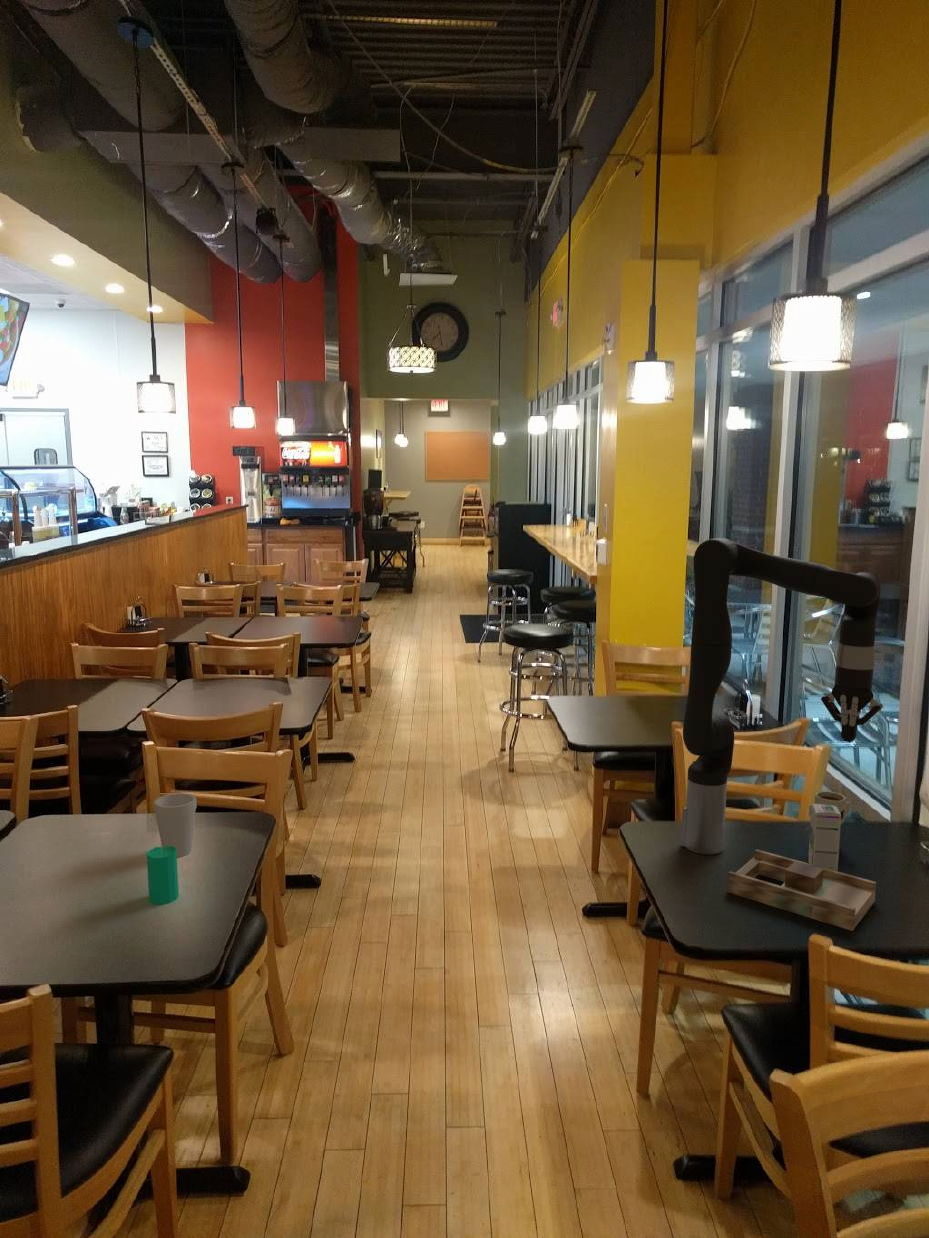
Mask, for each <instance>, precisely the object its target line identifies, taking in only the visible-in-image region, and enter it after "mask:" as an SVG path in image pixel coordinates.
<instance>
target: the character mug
mask: <svg viewBox="0 0 929 1238" xmlns="http://www.w3.org/2000/svg"><path fill="white" fill-rule="evenodd" d="M812 804H829V805H835V806H837V808H838V810H839V812H840V814H841V824H840V826H841V825H842V824H843V823H844V822H845V820H846V815H849V814H850V809H851V803H850V801H847V799H846V795H844V794H842V793H839V792H834V791H830V790H829V791H827V790H821V791H817V792H815V793H814V801H813V803H811V804H809V807H808V816H809V818H811V805H812ZM840 848H841V842H840V843H839V849H840Z"/></svg>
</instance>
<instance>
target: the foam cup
mask: <svg viewBox="0 0 929 1238" xmlns="http://www.w3.org/2000/svg"><path fill="white" fill-rule="evenodd" d="M153 808H154V809H153V810H154V811H153V812H154V814H155V816H156V817H155V818H156V823H157V828H158V832H159V838H160V842H161V843H160V845H161V844H162V847H167V846H173V847H175V848H176V851H177V859H178V858H183V857H185V856H188V855H190V854H191V852H192V848H193V839H194V838H193V837H194V830H195V829H194V827H195V821H196V820H195V818H196V809H197V798H196V796H195V795H194V794H191V793H187V792H186V793H185V792H184V793H183V792H175V793H169V794H165V795H162V796H160V797H158V798H155V800H154V801H153Z"/></svg>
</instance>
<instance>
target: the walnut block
mask: <svg viewBox="0 0 929 1238" xmlns="http://www.w3.org/2000/svg"><path fill="white" fill-rule="evenodd" d="M801 862H802V861H801ZM801 862H797V861H795V862H794V863H793V864H792V865H791V866H790V867H788V868H787V869H786V873H785V886H788V887H791V888H795V889H798V890H801V891H805V892H808V893H812V894H814V893H815V892H816V890H817V889H818V888H819V887H820V886H821V885H822V883H823V870H824V869H823V868H819V867H816V866H812V865H808V864H805V863H806V862H805V863H801Z"/></svg>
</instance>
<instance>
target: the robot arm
mask: <svg viewBox="0 0 929 1238" xmlns="http://www.w3.org/2000/svg"><path fill="white" fill-rule="evenodd" d="M693 575H694V576H693V579H694V607H693V616H692V628H691V630H692V631H691V639H690V640H691V641H690V658H689V659H690V661H689V663H690V664H689V665H690V666H689V680H688V691H687V699H686V704H685V713H684V717H683V725H682V739H683V743H684V746H685V749H687V751H688V752H689V753H690V754H691V755H694V756H698V757H697V758H696V760H694V761H693V762H692V763H691V764H690V765H689V767H688V768H687V780H686V781H687V784H686V801H685V802H686V803H685V806H684V807H682V811H681V812H682V813H681V815H682V817H681V833H680V835H681V836H680V837H681V838H680V846H681V847H683V848H686V849H687V850H688V851H691V853H692V852H693V853H695V854H700V855H717V854H719V853H722V852H723V850H724V843H725V842H724V841H725V824H726V807H727V787H728V776H729V773H730V772H731V770H732V765H733V756H734V747H735V730H734V726H733V723H732V721H731V720H730V718H729V717H728V716H727V715H725V714H723V713H720V712H714V713H713V709H714V701H715V698H716V695H717V693H718V690H719V688H720V686H721V684H722V682H723V681H724V679H725V677H726V675H727V672H728V670H729V668H730V665H731V661H732V647H733V630H732V622H731V620H730V614H729V608H728V592H729V584H730V583H729V582H730V578H731V577H730V576H735V577H737V576H738V577H746V578H753V579H756V580H761V581H763V582H768V583H770V584H772V585H775V586H778V587H779V588H783V589H787V590H790V591H793V592H796V593H800V594H805V595H809V596H814V597H819V598H820V597H821V598H824V599H827V600H830V601H833V602H835V603H838V604H842V605H844V611H843V612H844V613H843V617H842V620H841V623H840V627H839V638H838V639H839V640H838V641H839V642H838V647H837V651H836V661H835V674H834V686H833V688H832V689H831V692H830V693H828V694H825V695H823V696H821V698H820V701H821V702H822V703H823V705H824V706H825V708H826V709H827V711H828V713H829V714H830V715H831V716H830V717H832V719H833V720H834V721H837V722H839V723H840V724H841V728H840V729H841V730H840V731H841V732H840V737H841V739H843V742H848V743H852V742H853V741H854V740H856V738H857V731H858V726H864V725H865V724H866V723H867V722H868V721H870V720H871V718H873V717H874V716H875V715H876V714H877V713H878V712H879V711H881V710H882V709H883V708H884V706H883V703H881V702H878V701H877V700H876V699H875V698H874V693H873V690H872V687H873V680H874V679H873V678H874V667H875V662H876V661H875V643H876V642H875V640H876V639H875V638H876V623H877V622H876V621H877V620H876V619H877V615H878V609H879V604H880V597H881V584H880V581H879V580H878V578H877V577H876V576H875V575H873V574H872V573H870V572H865V571H863V572H861V571H860V572H857V573H852V572H846V571H843V570H842V571H841V570H837V569H834V568H833V567H831V566H828V565H825V564H821V563H815V562H812V561H808V560H806V561H805V560H802V559H796V558H791V557H786V556H780V555H776V554H770V553H768V552H767V553H766V552H762V551H760V550H756V549H753V548H750V547H747V546H746V545H745V546H744V545H742V544H740V543H738V542H734V541H733V540H730V539H728V538H725V537H715V538H709V539H705V540H704V541H702V542H701V543H699V545H698V546H697V547H696V550H695V552H694V555H693ZM835 701H836V703H837V704H838V706H839V708H840V710H839V708H838V706H837V705H836V704H835ZM868 704H869V705H868ZM867 705H868V709H869V711H867V713H865V714H864V715H863V716H862V717H860V715H861V713H862V710H863V709H864V708H865V707H867Z"/></svg>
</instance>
